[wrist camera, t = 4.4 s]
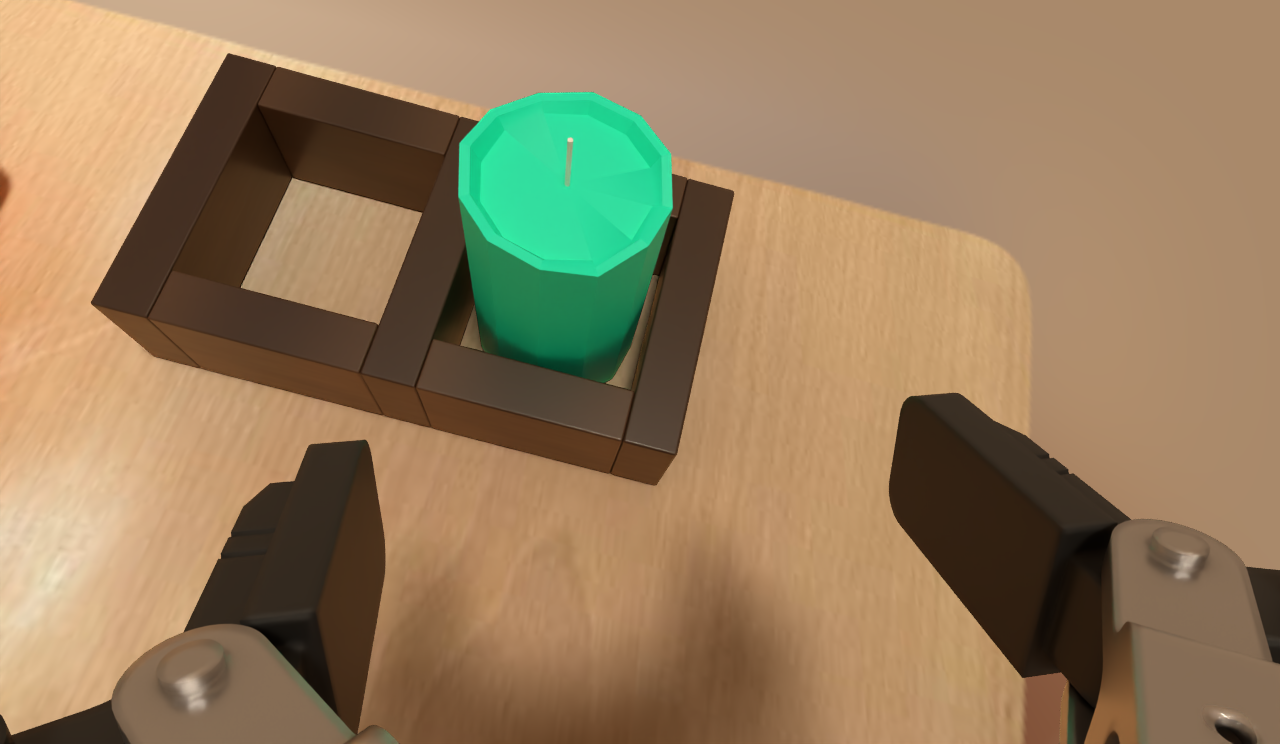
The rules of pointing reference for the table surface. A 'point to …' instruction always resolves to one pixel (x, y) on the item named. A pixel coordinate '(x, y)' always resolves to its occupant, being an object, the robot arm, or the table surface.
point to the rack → (422, 295)
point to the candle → (563, 228)
